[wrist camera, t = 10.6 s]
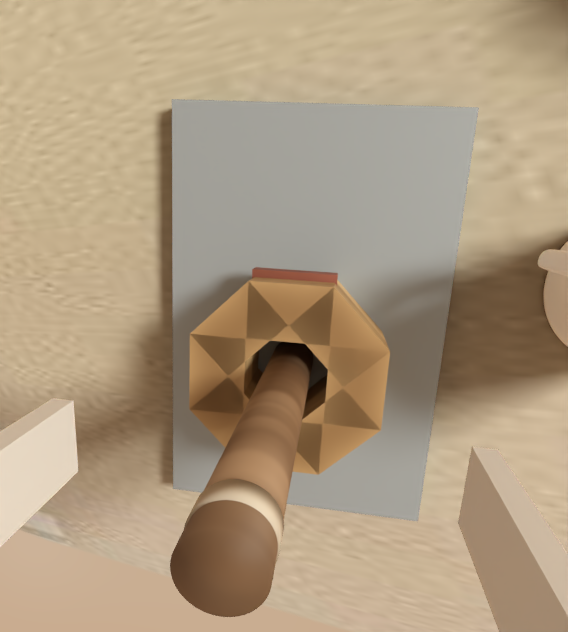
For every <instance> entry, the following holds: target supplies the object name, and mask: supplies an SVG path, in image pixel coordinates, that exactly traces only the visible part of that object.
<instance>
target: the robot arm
mask: <svg viewBox="0 0 568 632" xmlns="http://www.w3.org/2000/svg"><path fill="white" fill-rule="evenodd" d="M77 472H78V458H77V444H76V430H75V416H74V401H73V400H65V399H56V398H52V399H51V400H49V401H47V402H46V403H44V404H43V405H41V406H39V407H38V408H36V409H35V410H33V411H31V412H30V413H28V414H27V415H25V416H24V417H22V418H20V419H19V420H17V421H16V422H14V423H12V424H11V425H9V426H8V427H6V428H5V429H3V430H1V431H0V547H1V546H2V545H3V544H4V543H5V542H6V541H7V540H8V539H9V538H10V537H11V536H12V535H13V534H14V533H15V532H16V531H17V530H18V529H20V528H21V527H22V526H23V525H24V524H25V523H26V522H27V521H28V520H29V519H30V518H31V517H32V516H33V515H34V514H35V513H36V512H37V511H38V510H39V509H40V508H41V507H42V506H43V505H44V504H45V503H46V502H47V501H48V500H49V499H50V498H51V497H52V496H54V495H55V494H56V493H57V492H58V491H59V490H60V489H61V488H62V487H63V486H64V485H65V484H66V483H67V482H68V481H69V480H70V479H71V478H72V477H73V476H74V475H75V474H76V473H77ZM458 524H459V526H460V529H461V532H462V534H463V537H464V539H465V542H466V545H467V547H468V550H469V553H470V555H471V558H472V561H473V563H474V566H475V569H476V571H477V574H478V576H479V579H480V582H481V584H482V587H483V590H484V592H485V595H486V598H487V600H488V603H489V606H490V608H491V611H492V614H493V616H494V619H495V621H496V624H497V627H498V629H499V632H568V553H567V552H566V550H565V549H564V547H563V546H562V544H561V543H560V541H559V540H558V538H557V537H556V535H555V534H554V532H553V531H552V529H551V528H550V526H549V525H548V523H547V522H546V520H545V519H544V517H543V516H542V514H541V513H540V511H539V510H538V508H537V507H536V505H535V504H534V502H533V501H532V499H531V498H530V496H529V495H528V493H527V492H526V490H525V489H524V487H523V486H522V484H521V483H520V481H519V480H518V478H517V477H516V475H515V474H514V472H513V471H512V469H511V468H510V466H509V465H508V463H507V462H506V460H505V459H504V457H503V456H502V454H501V453H500V451H499V450H498V449H491V448H482V447H474V446H472V449H471V455H470V460H469V466H468V471H467V477H466V483H465V488H464V494H463V499H462V505H461V510H460V516H459V522H458Z"/></svg>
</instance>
